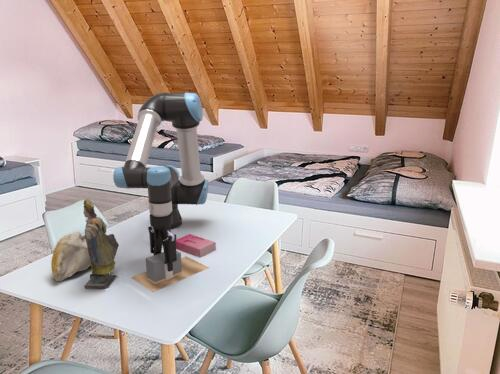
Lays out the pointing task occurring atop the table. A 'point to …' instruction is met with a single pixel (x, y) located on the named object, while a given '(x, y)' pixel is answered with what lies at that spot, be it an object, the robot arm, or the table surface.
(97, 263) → the statue
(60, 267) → the stone
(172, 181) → the robot arm
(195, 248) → the pink flat block
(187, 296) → the table surface
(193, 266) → the oak board
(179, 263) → the block
